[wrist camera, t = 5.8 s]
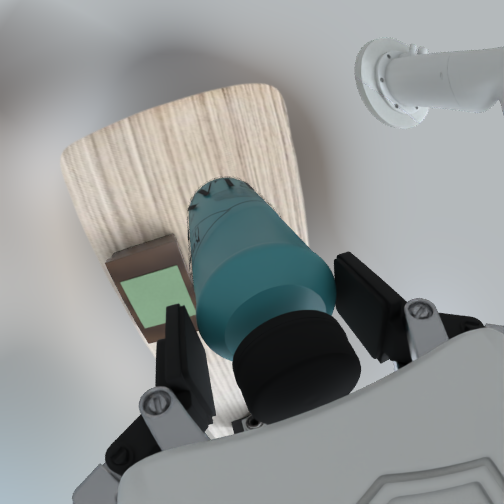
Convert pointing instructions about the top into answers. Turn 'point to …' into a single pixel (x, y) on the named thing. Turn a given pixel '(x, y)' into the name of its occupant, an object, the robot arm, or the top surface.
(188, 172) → the top surface
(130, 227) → the top surface
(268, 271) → the beverage bottle
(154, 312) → the shelf
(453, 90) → the robot arm
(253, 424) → the camera
